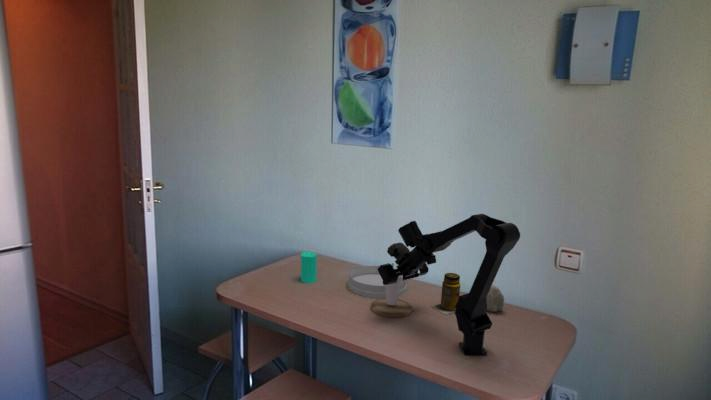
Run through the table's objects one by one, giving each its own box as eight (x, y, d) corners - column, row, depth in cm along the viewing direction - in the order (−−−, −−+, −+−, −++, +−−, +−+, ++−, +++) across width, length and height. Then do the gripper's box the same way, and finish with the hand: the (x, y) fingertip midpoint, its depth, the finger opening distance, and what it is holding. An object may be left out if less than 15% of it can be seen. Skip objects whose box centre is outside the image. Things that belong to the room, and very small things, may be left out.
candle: (298, 278, 193) (299, 248, 191) (313, 276, 196) (313, 247, 193) (303, 283, 188) (304, 253, 186) (318, 282, 190) (319, 251, 188)
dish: (393, 304, 174) (394, 290, 173) (337, 291, 183) (338, 278, 182) (414, 284, 193) (415, 272, 192) (363, 273, 203) (363, 262, 202)
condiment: (463, 310, 171) (466, 276, 168) (445, 314, 166) (448, 280, 164) (448, 302, 176) (451, 270, 174) (430, 307, 172) (433, 273, 169)
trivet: (415, 318, 162) (415, 314, 162) (372, 317, 161) (373, 314, 161) (408, 301, 176) (408, 298, 176) (368, 300, 175) (368, 297, 175)
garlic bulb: (500, 320, 169) (510, 298, 164) (476, 314, 170) (485, 292, 165) (497, 301, 177) (506, 280, 173) (474, 296, 178) (482, 274, 173)
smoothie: (378, 301, 169) (380, 261, 166) (394, 298, 172) (396, 259, 170) (389, 308, 164) (391, 267, 161) (405, 304, 167) (407, 264, 164)
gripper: (424, 233, 166) (399, 256, 177) (382, 241, 155) (358, 265, 165) (440, 262, 162) (414, 284, 172) (399, 272, 150) (373, 295, 161)
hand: (390, 281), depth 168 cm, fingers closed on smoothie, 6 cm apart
